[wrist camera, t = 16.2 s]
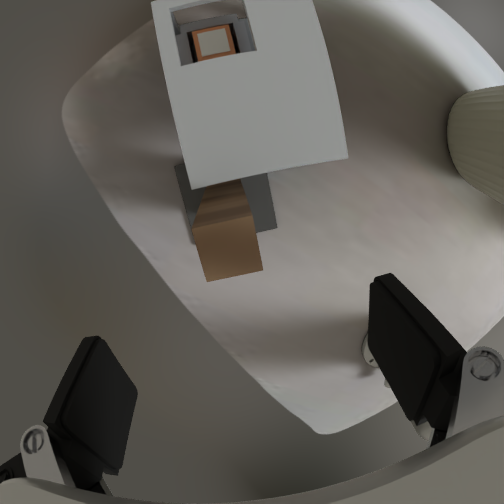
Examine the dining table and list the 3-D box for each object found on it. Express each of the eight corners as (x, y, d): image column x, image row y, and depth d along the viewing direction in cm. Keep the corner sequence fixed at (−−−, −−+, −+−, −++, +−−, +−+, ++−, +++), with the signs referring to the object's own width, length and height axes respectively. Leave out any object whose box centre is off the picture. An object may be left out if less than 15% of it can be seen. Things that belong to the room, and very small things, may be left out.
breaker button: (234, 64, 23) (235, 53, 19) (202, 71, 23) (198, 61, 19) (228, 38, 21) (228, 23, 18) (196, 45, 21) (191, 31, 18)
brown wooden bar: (246, 208, 29) (263, 270, 17) (214, 215, 29) (206, 281, 16) (239, 177, 28) (252, 215, 15) (207, 184, 28) (191, 228, 15)
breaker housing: (314, 150, 28) (348, 158, 20) (201, 173, 28) (191, 189, 20) (283, 15, 21) (304, -21, 13) (170, 35, 21) (150, 2, 13)
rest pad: (276, 226, 31) (277, 227, 30) (197, 245, 31) (196, 246, 30) (260, 145, 27) (261, 145, 27) (174, 166, 27) (174, 166, 27)
